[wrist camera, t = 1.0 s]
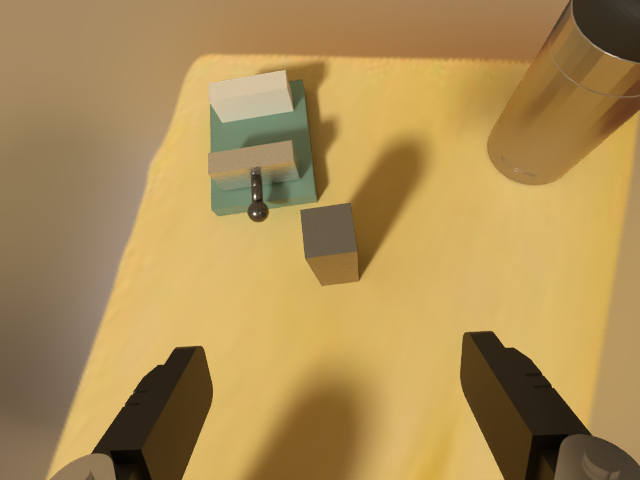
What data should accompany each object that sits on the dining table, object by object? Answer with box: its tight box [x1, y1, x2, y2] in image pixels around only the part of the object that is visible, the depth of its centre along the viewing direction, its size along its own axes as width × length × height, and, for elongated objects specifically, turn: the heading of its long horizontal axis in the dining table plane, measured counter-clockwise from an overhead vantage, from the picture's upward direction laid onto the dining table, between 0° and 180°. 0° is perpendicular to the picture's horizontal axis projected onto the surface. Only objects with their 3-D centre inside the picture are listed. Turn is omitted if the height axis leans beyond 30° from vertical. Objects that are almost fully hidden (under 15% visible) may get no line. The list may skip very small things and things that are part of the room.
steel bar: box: [300, 203, 359, 286], centre depth 33 cm, size 4×4×12 cm
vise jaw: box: [208, 140, 300, 222], centre depth 38 cm, size 8×9×4 cm
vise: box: [209, 70, 317, 216], centre depth 41 cm, size 16×12×6 cm
